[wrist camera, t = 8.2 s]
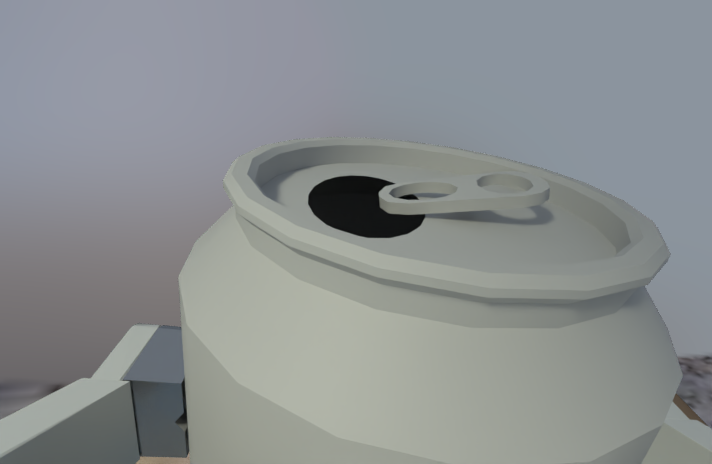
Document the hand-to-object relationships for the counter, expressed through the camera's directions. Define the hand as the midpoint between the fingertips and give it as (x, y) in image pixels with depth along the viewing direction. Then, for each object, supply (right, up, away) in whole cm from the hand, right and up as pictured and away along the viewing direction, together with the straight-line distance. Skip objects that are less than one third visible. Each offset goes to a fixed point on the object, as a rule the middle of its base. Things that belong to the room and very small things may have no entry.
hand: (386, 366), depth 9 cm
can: (-1, -7, +2) cm, 8 cm away
